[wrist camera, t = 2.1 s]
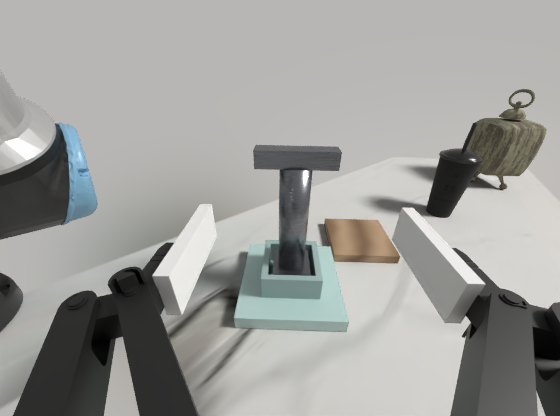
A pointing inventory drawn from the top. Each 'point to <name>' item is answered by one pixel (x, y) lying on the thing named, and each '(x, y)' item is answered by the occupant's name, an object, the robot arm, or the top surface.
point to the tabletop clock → (507, 142)
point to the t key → (294, 198)
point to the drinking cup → (452, 177)
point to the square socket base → (290, 293)
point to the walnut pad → (359, 241)
